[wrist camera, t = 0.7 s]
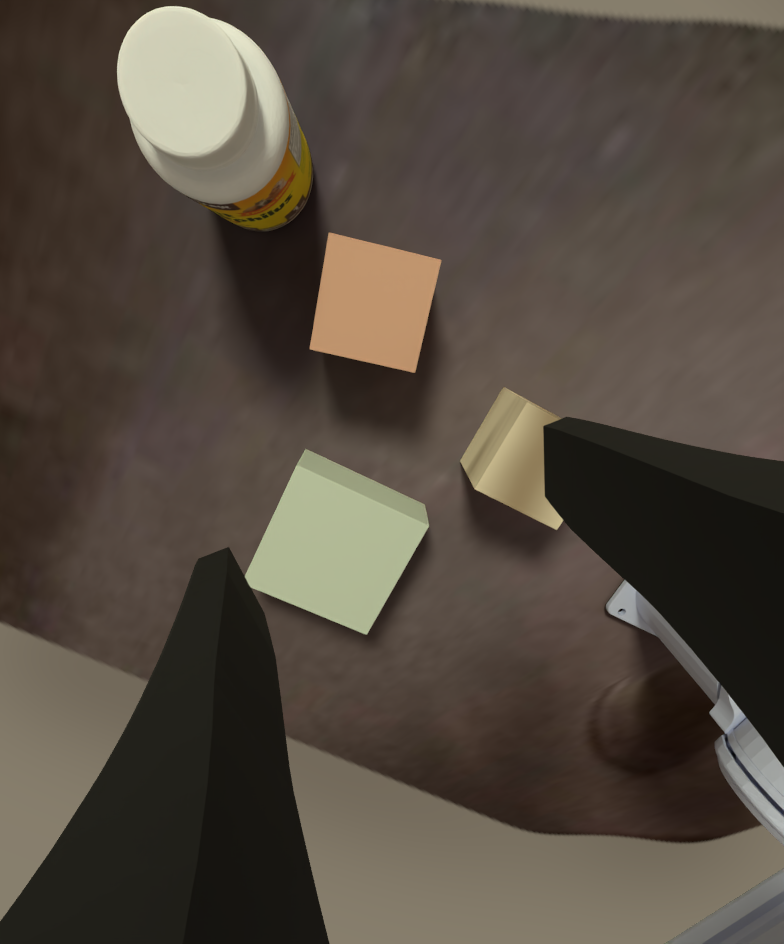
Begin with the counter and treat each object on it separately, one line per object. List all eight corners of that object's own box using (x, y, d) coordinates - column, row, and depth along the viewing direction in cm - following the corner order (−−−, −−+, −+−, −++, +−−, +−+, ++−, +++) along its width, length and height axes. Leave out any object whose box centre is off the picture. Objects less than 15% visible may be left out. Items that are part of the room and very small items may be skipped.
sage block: (424, 502, 31) (429, 525, 27) (368, 602, 33) (366, 634, 30) (306, 447, 30) (296, 464, 26) (256, 554, 32) (241, 583, 28)
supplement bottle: (215, 238, 26) (112, 194, 16) (193, 112, 24) (63, -24, 14) (322, 229, 26) (284, 179, 16) (308, 102, 24) (256, -41, 14)
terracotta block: (431, 269, 26) (441, 260, 22) (409, 362, 28) (415, 373, 23) (338, 246, 26) (328, 232, 21) (322, 342, 27) (309, 349, 23)
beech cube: (575, 425, 29) (612, 448, 24) (529, 496, 30) (556, 530, 26) (503, 386, 28) (527, 401, 24) (459, 460, 30) (474, 488, 25)
